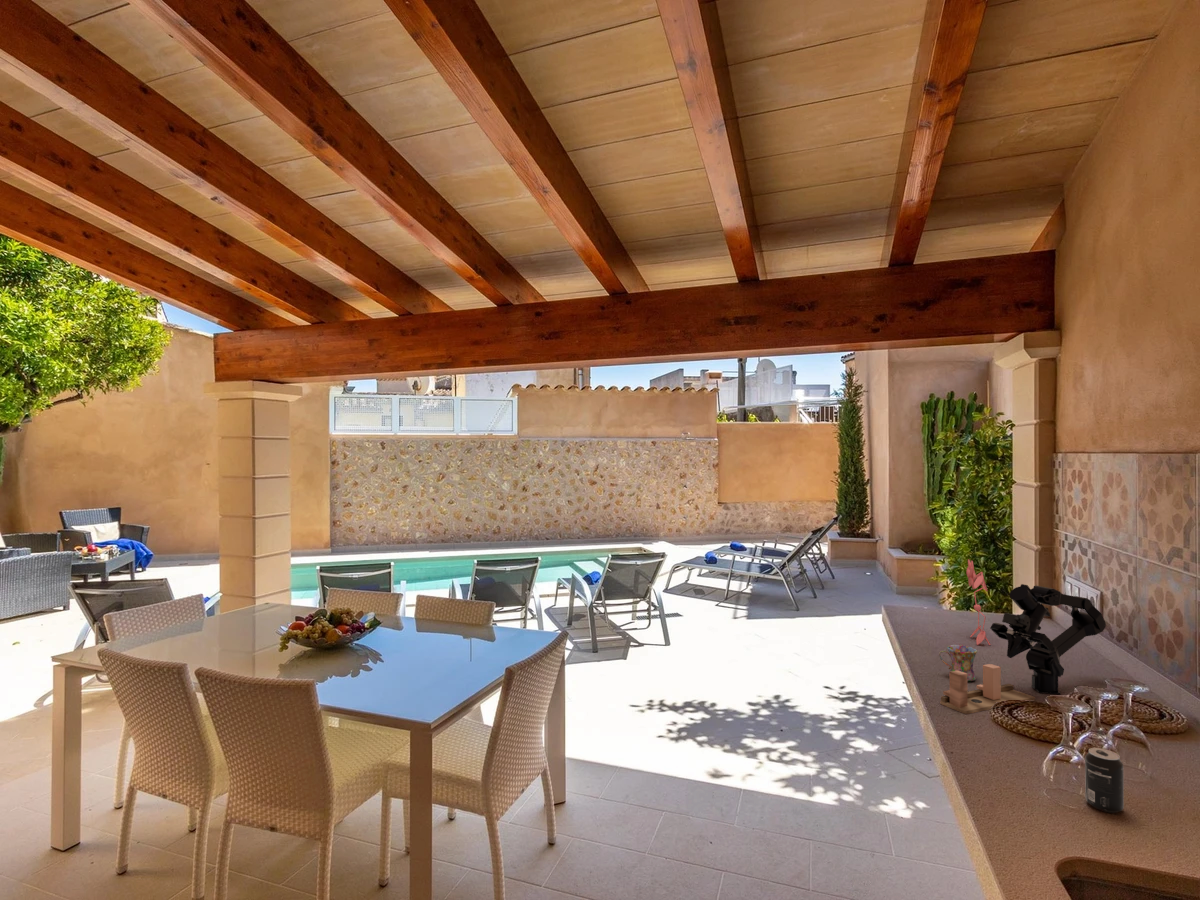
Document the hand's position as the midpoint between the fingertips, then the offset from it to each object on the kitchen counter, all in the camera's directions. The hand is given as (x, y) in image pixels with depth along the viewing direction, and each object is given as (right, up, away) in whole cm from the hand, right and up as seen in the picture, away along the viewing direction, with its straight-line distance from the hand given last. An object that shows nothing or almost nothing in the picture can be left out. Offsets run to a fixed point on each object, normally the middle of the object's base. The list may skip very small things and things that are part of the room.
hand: (1008, 657), depth 214 cm
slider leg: (-8, -12, -3) cm, 15 cm away
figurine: (+25, -14, +65) cm, 71 cm away
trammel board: (-10, -13, -5) cm, 17 cm away
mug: (-7, -14, +18) cm, 24 cm away
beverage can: (-21, -12, -68) cm, 72 cm away
